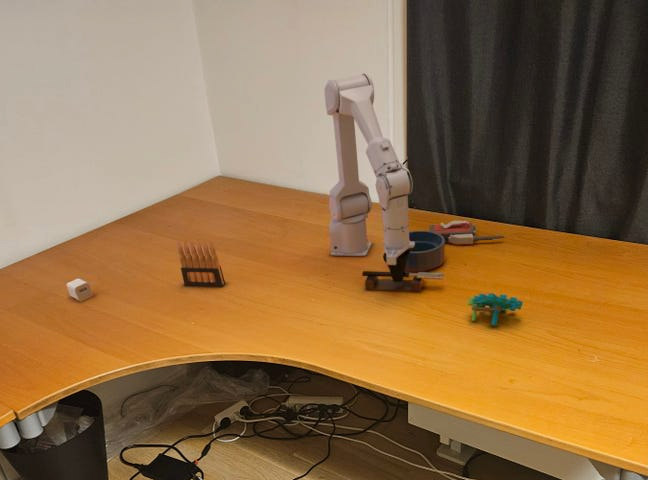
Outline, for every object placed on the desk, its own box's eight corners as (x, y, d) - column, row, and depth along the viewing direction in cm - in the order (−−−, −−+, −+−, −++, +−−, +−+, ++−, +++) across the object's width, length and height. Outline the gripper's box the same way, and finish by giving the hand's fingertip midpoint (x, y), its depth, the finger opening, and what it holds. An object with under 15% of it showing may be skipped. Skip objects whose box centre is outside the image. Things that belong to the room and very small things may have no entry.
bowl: (387, 272, 152) (386, 252, 149) (396, 249, 162) (395, 230, 159) (441, 274, 148) (441, 253, 145) (447, 250, 159) (447, 230, 155)
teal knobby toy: (528, 305, 129) (516, 290, 120) (524, 333, 128) (511, 320, 120) (477, 303, 135) (462, 289, 126) (473, 329, 134) (457, 317, 125)
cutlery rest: (365, 290, 145) (364, 281, 144) (370, 280, 149) (369, 271, 148) (420, 292, 142) (420, 283, 140) (423, 282, 146) (423, 273, 144)
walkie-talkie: (425, 247, 161) (504, 243, 158) (425, 232, 159) (505, 227, 156) (425, 234, 168) (500, 230, 166) (424, 219, 166) (500, 214, 163)
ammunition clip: (225, 283, 156) (215, 239, 149) (222, 287, 154) (212, 242, 148) (187, 282, 159) (176, 239, 152) (184, 285, 157) (172, 242, 150)
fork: (361, 277, 145) (361, 274, 145) (364, 272, 147) (363, 269, 147) (442, 279, 140) (442, 277, 140) (444, 274, 142) (444, 272, 142)
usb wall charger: (79, 302, 156) (73, 288, 153) (66, 295, 160) (60, 281, 157) (93, 295, 158) (88, 281, 156) (80, 288, 162) (75, 275, 160)
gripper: (408, 238, 130) (410, 295, 138) (418, 212, 141) (420, 265, 149) (375, 238, 132) (379, 293, 139) (388, 212, 143) (391, 265, 151)
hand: (398, 279), depth 144 cm, fingers closed on fork, 1 cm apart
